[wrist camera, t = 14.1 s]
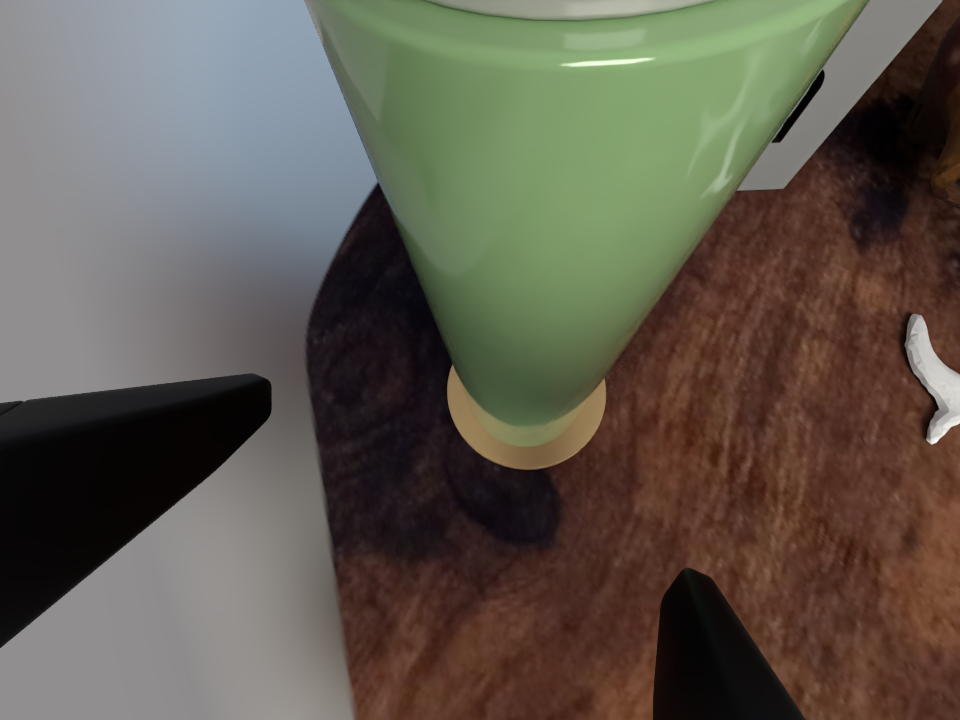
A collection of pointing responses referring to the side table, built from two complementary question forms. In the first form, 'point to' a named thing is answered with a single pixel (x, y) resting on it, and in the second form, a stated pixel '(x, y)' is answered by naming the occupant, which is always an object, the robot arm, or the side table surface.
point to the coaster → (525, 456)
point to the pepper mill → (563, 164)
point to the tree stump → (933, 378)
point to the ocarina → (941, 116)
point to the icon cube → (839, 87)
